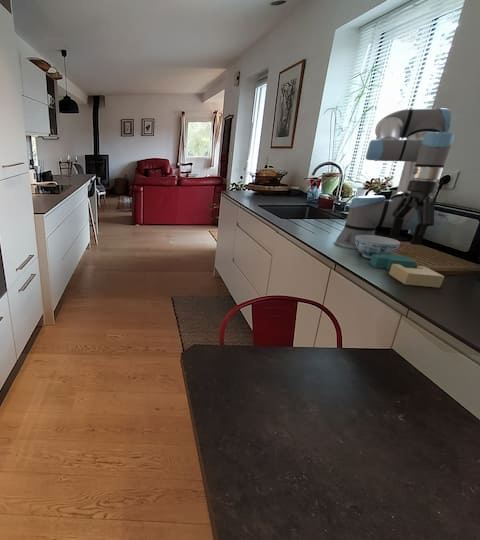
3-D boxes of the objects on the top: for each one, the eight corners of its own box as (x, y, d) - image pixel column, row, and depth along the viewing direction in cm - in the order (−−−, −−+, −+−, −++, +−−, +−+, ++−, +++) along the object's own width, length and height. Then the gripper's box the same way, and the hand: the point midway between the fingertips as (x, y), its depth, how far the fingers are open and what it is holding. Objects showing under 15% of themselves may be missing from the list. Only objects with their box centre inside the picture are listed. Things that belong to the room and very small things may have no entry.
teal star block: (400, 265, 126) (403, 255, 125) (412, 272, 119) (416, 262, 118) (367, 262, 129) (370, 252, 127) (377, 269, 121) (380, 259, 120)
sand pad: (388, 274, 117) (392, 263, 115) (420, 277, 114) (424, 266, 113) (404, 284, 107) (408, 273, 106) (440, 287, 105) (444, 276, 104)
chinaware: (373, 263, 127) (379, 244, 125) (341, 252, 141) (346, 235, 139) (404, 262, 130) (410, 243, 128) (370, 251, 144) (375, 234, 142)
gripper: (392, 177, 124) (375, 231, 132) (435, 182, 102) (412, 247, 109) (414, 178, 123) (396, 233, 130) (464, 183, 100) (438, 249, 107)
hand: (404, 239), depth 120 cm, fingers open, 13 cm apart
